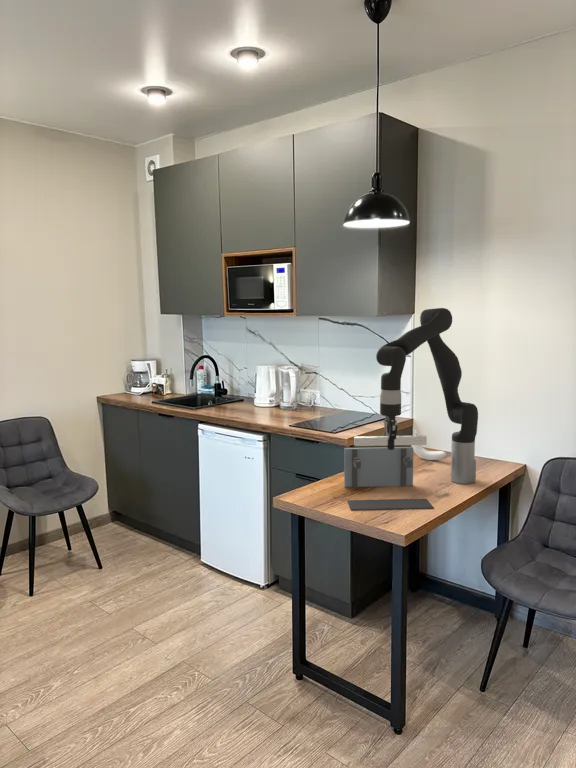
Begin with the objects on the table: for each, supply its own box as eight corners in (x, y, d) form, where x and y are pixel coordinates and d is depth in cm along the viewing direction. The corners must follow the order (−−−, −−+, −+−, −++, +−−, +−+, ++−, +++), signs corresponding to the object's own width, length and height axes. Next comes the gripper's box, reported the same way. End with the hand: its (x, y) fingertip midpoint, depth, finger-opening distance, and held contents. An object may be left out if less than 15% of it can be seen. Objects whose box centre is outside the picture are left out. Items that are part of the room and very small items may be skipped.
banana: (444, 464, 267) (445, 433, 265) (408, 458, 279) (408, 428, 277) (449, 462, 270) (450, 431, 269) (413, 456, 283) (413, 426, 281)
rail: (424, 443, 210) (424, 435, 210) (426, 444, 208) (426, 436, 208) (354, 444, 210) (354, 436, 210) (354, 446, 208) (355, 437, 207)
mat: (426, 499, 217) (426, 498, 217) (433, 508, 207) (433, 507, 207) (347, 501, 216) (347, 500, 216) (350, 510, 207) (350, 509, 206)
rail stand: (412, 484, 236) (412, 446, 234) (419, 494, 223) (420, 454, 221) (344, 486, 235) (344, 448, 233) (348, 495, 223) (348, 455, 221)
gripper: (405, 404, 200) (404, 453, 202) (397, 398, 214) (396, 444, 216) (383, 405, 200) (383, 453, 202) (376, 399, 214) (376, 444, 216)
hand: (390, 448), depth 209 cm, fingers closed on rail, 2 cm apart
